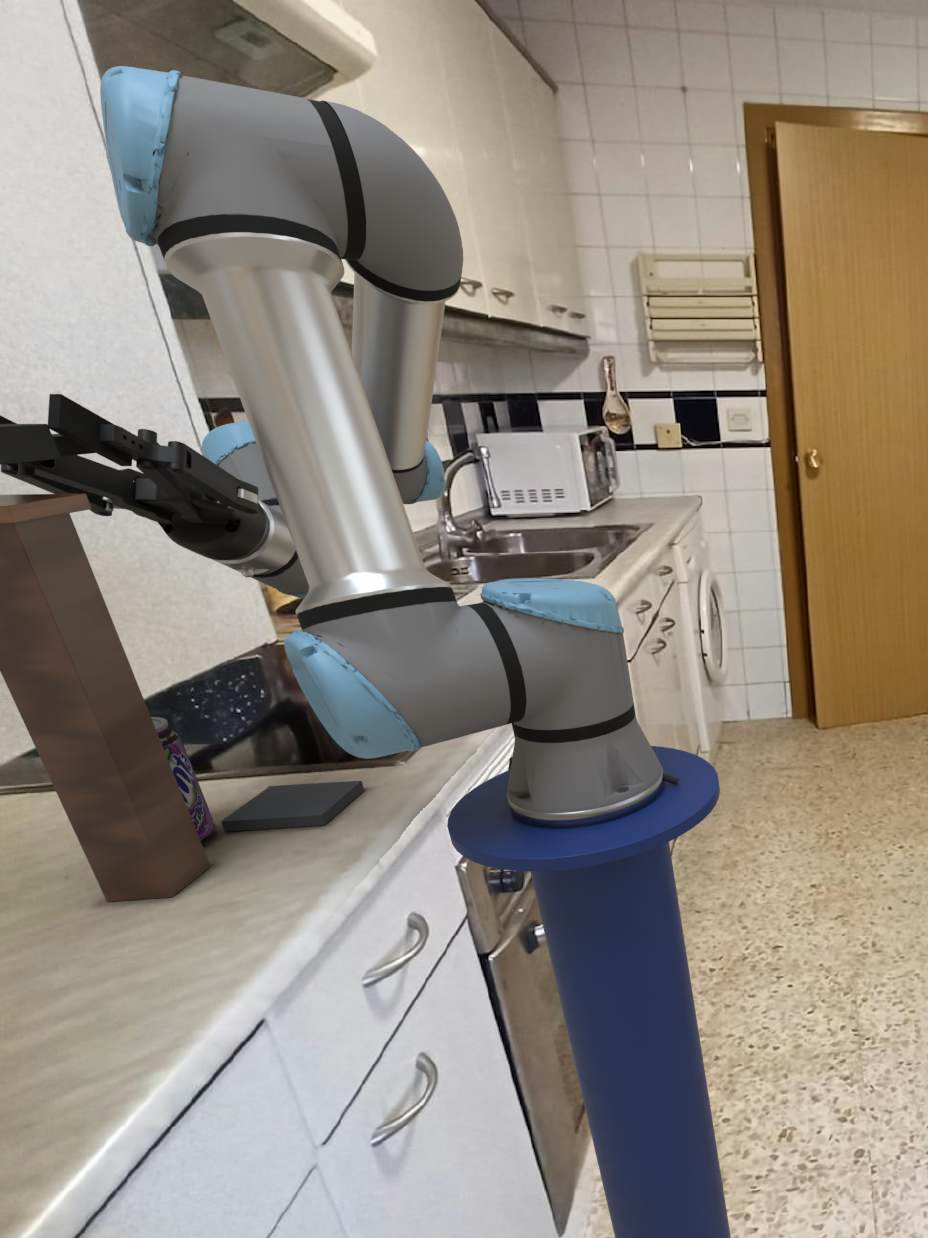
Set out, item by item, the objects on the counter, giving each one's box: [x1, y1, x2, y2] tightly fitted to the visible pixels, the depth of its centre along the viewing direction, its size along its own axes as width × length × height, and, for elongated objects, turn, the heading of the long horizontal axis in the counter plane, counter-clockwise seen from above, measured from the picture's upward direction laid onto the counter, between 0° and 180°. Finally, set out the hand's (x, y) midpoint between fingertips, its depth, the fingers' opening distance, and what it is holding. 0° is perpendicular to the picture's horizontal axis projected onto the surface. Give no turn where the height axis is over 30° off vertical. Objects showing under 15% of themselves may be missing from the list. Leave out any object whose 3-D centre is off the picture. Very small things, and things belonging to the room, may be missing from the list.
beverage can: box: [151, 716, 216, 842], centre depth 79 cm, size 7×7×12 cm
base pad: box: [220, 780, 365, 833], centre depth 88 cm, size 9×8×1 cm
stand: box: [0, 493, 212, 903], centre depth 69 cm, size 6×7×33 cm
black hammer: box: [0, 423, 96, 466], centre depth 65 cm, size 6×15×2 cm, turn 9°
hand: (3, 411), depth 64 cm, fingers closed on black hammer, 6 cm apart
